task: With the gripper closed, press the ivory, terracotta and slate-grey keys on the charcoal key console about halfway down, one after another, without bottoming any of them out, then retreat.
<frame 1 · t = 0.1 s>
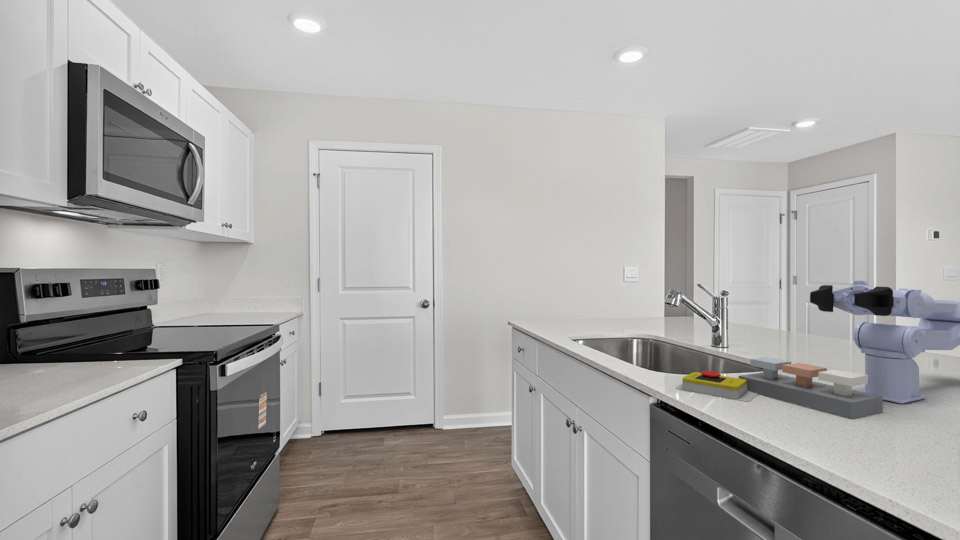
hand: (833, 298, 85), 22 cm above the counter, tool horizontal, fingers open, 7 cm apart
key console: (804, 399, 91), on the counter
terracotta key: (804, 377, 91), point 5 cm above the counter, slide at 0.0 cm
emergency button: (716, 394, 98), on the counter
ivory key: (842, 385, 85), point 5 cm above the counter, slide at 0.0 cm
slate key: (770, 370, 98), point 5 cm above the counter, slide at 0.0 cm
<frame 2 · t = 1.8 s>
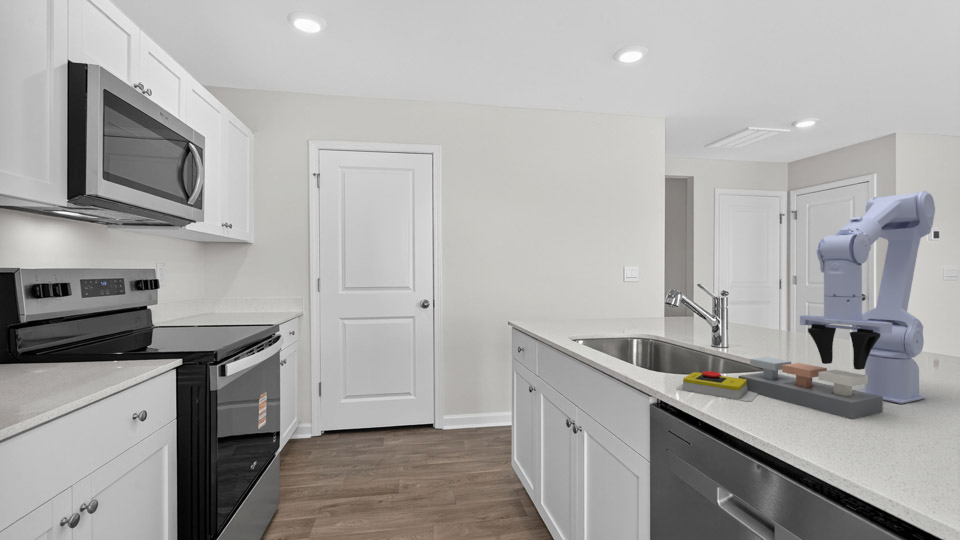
hand: (842, 366, 85), 8 cm above the counter, tool pointing down, fingers open, 5 cm apart
nothing on the counter moved.
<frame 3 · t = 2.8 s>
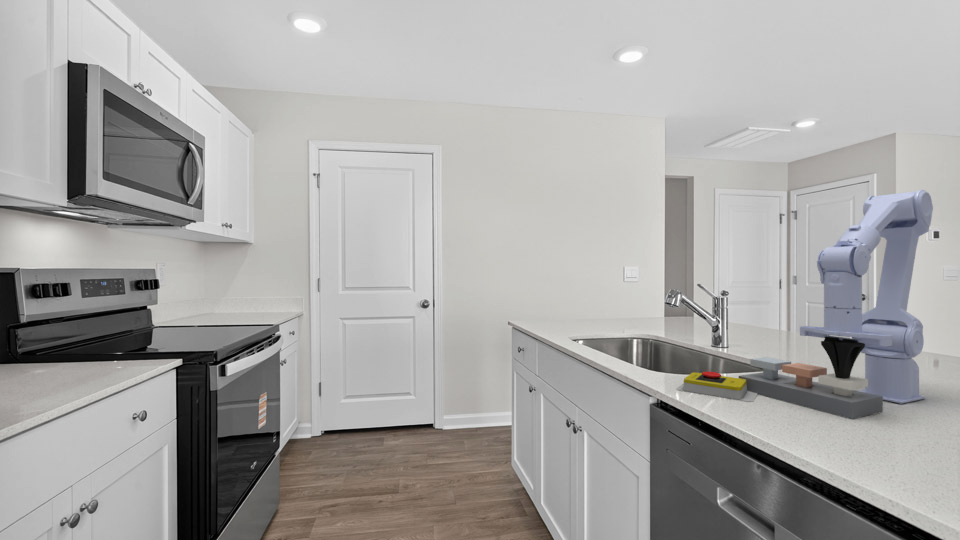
hand: (842, 377, 85), 6 cm above the counter, tool pointing down, fingers closed, pressing on ivory key
ivory key: (842, 388, 85), point 4 cm above the counter, slide at 0.7 cm, touching gripper
everything else where it was.
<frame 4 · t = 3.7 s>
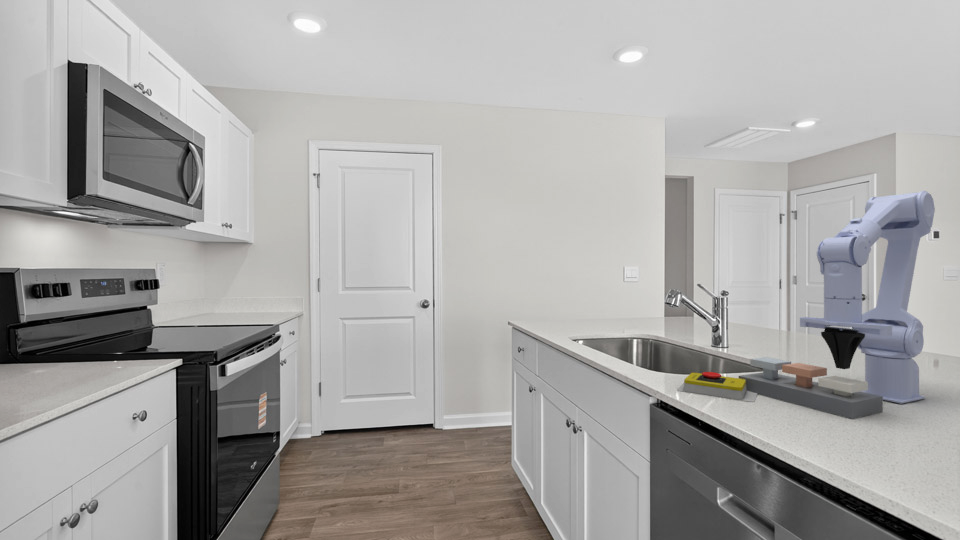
hand: (842, 368, 85), 8 cm above the counter, tool pointing down, fingers closed
ivory key: (842, 391, 85), point 3 cm above the counter, slide at 1.2 cm
everything else where it was.
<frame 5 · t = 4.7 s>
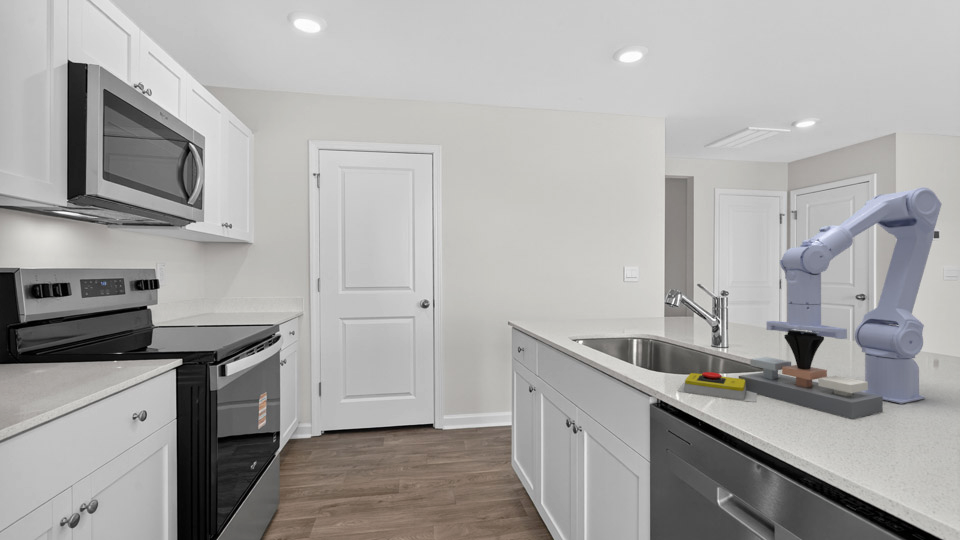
hand: (803, 368, 91), 6 cm above the counter, tool pointing down, fingers closed, pressing on terracotta key
terracotta key: (804, 378, 91), point 4 cm above the counter, slide at 0.4 cm, touching gripper
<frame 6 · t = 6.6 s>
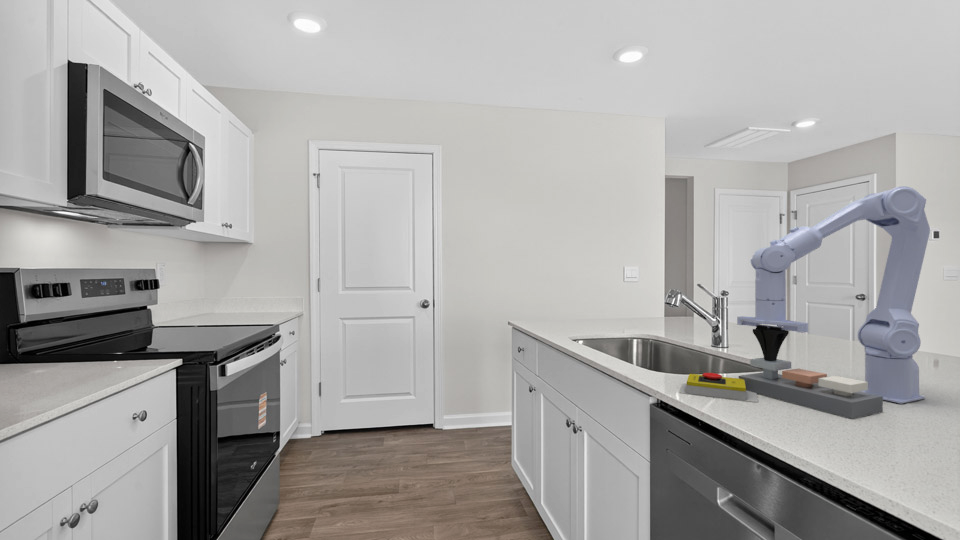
hand: (770, 360, 98), 7 cm above the counter, tool pointing down, fingers closed, pressing on slate key
terracotta key: (804, 382, 91), point 3 cm above the counter, slide at 1.2 cm
slate key: (770, 370, 98), point 5 cm above the counter, slide at 0.1 cm, touching gripper
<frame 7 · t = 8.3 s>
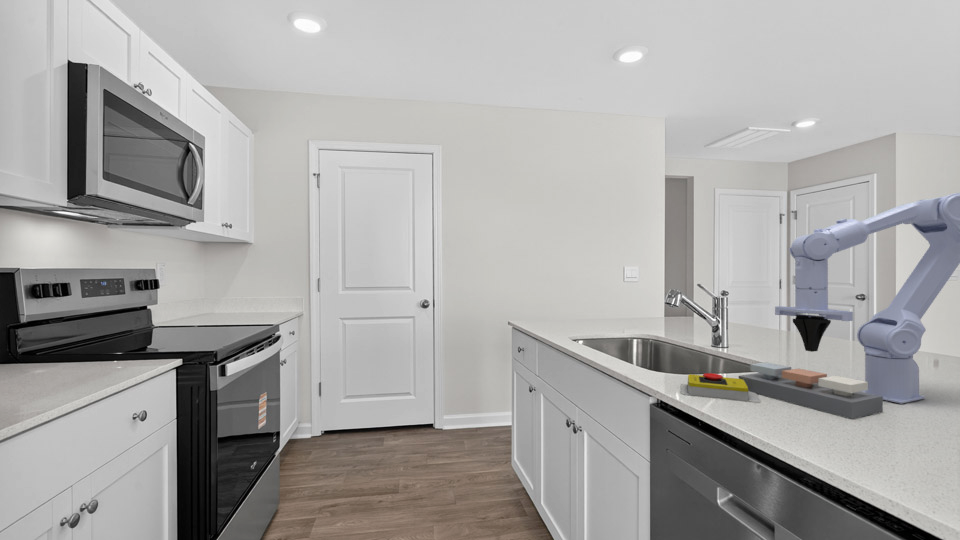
hand: (811, 350, 95), 9 cm above the counter, tool pointing down, fingers closed
slate key: (770, 375, 98), point 3 cm above the counter, slide at 1.2 cm
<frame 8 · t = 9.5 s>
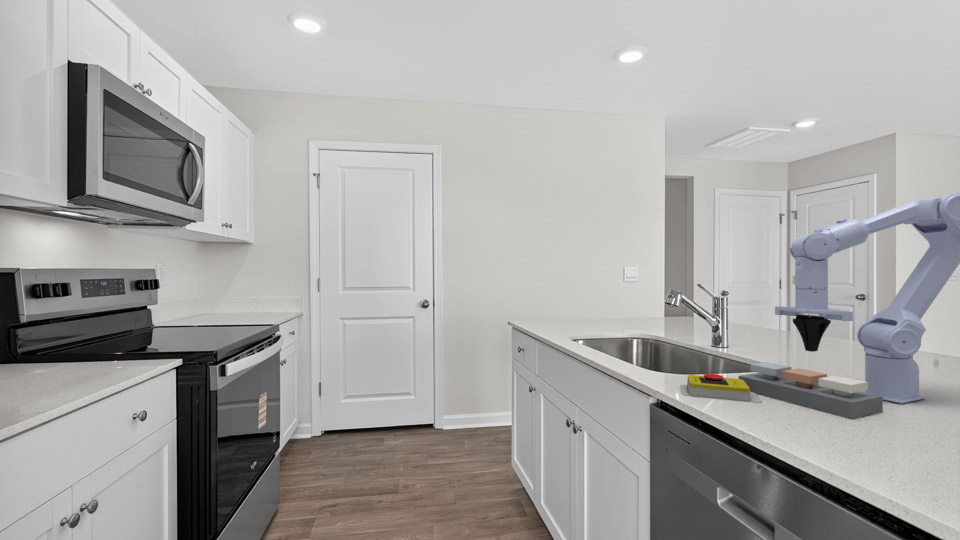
hand: (811, 350, 95), 9 cm above the counter, tool pointing down, fingers closed
at the end: ivory key slide at 1.2 cm; terracotta key slide at 1.2 cm; slate key slide at 1.2 cm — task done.
